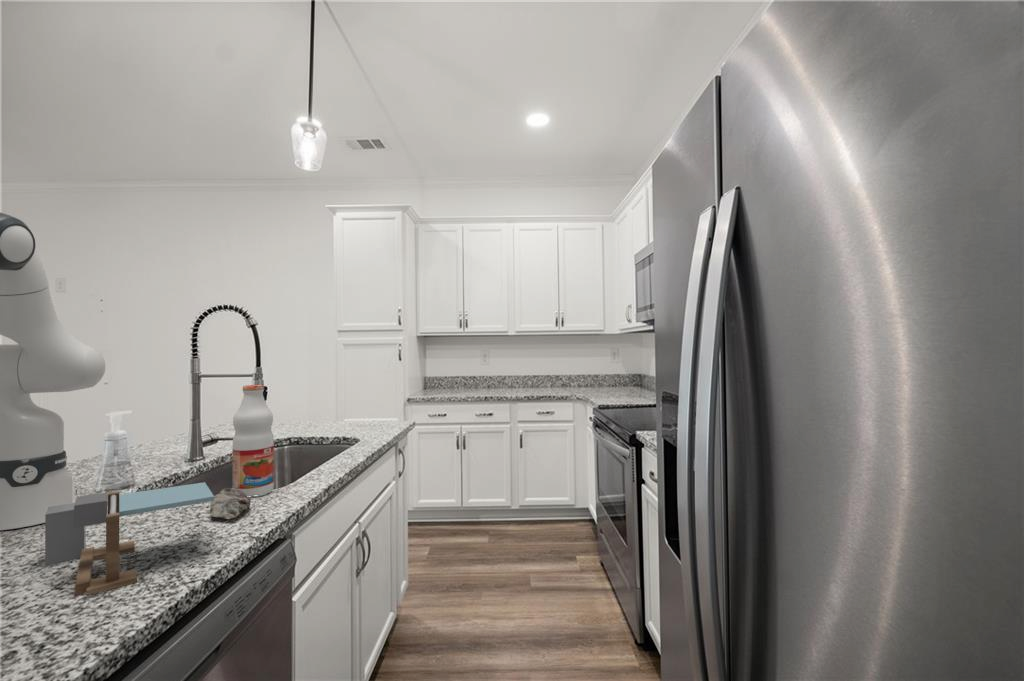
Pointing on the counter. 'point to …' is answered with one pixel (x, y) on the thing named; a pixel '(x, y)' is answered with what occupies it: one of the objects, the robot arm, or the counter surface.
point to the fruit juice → (253, 444)
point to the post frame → (112, 559)
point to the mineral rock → (229, 503)
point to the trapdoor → (138, 502)
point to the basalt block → (62, 535)
